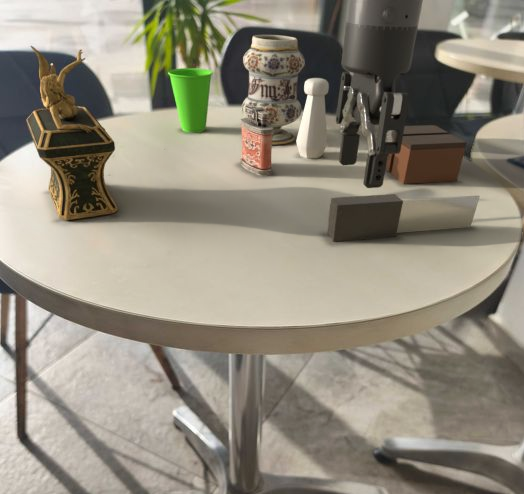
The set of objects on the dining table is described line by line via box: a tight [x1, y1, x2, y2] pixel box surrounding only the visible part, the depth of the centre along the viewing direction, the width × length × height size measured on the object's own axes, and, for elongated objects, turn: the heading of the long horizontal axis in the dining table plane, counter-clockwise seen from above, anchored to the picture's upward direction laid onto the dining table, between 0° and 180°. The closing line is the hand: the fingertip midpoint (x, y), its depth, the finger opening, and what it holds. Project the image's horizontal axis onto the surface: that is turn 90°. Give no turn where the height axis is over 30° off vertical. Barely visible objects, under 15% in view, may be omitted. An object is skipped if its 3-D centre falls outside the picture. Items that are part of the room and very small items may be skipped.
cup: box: [167, 67, 214, 134], centre depth 103 cm, size 9×9×11 cm
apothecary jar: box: [241, 34, 306, 146], centre depth 97 cm, size 12×12×18 cm
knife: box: [326, 193, 481, 242], centre depth 67 cm, size 21×3×5 cm, turn 103°
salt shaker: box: [295, 77, 330, 159], centre depth 91 cm, size 6×6×13 cm
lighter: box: [240, 104, 273, 177], centre depth 85 cm, size 8×3×10 cm, turn 32°
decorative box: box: [25, 45, 119, 221], centre depth 69 cm, size 20×10×20 cm, turn 25°
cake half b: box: [385, 124, 449, 173], centre depth 89 cm, size 10×5×6 cm, turn 103°
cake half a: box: [390, 133, 468, 185], centre depth 84 cm, size 10×5×6 cm, turn 103°
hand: (359, 174), depth 62 cm, fingers open, 8 cm apart
